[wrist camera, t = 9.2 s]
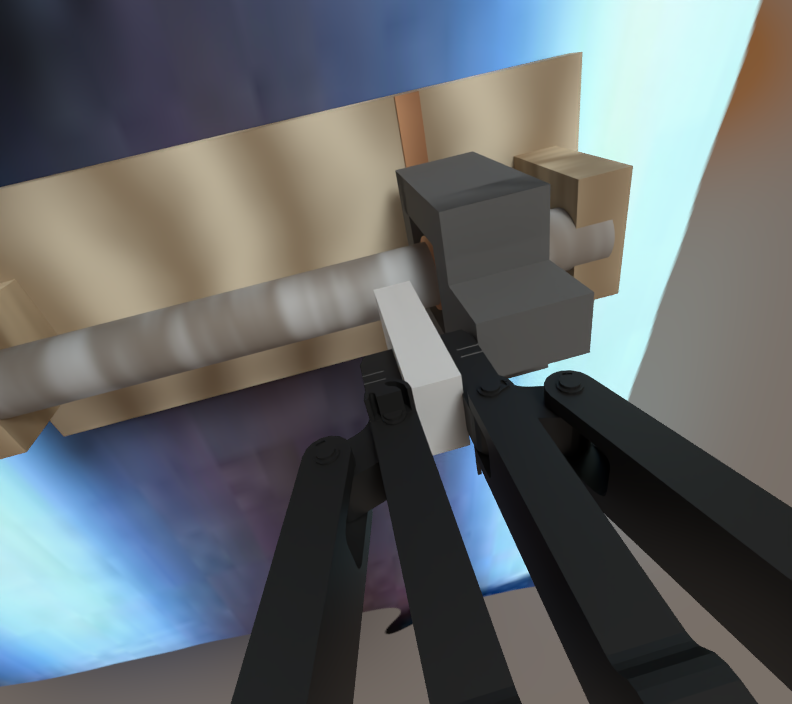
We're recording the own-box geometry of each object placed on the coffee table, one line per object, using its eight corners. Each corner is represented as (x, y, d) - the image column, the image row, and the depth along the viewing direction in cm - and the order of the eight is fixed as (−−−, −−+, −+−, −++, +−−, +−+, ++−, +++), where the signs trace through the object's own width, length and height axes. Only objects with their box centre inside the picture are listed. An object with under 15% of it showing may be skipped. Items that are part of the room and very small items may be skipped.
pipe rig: (72, 423, 28) (-1, 534, 21) (-108, 212, 20) (-314, 280, 13) (561, 293, 30) (639, 357, 23) (569, 53, 22) (690, 41, 15)
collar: (420, 310, 26) (487, 438, 16) (394, 170, 21) (467, 239, 12) (484, 293, 26) (584, 410, 17) (472, 151, 21) (601, 205, 12)
